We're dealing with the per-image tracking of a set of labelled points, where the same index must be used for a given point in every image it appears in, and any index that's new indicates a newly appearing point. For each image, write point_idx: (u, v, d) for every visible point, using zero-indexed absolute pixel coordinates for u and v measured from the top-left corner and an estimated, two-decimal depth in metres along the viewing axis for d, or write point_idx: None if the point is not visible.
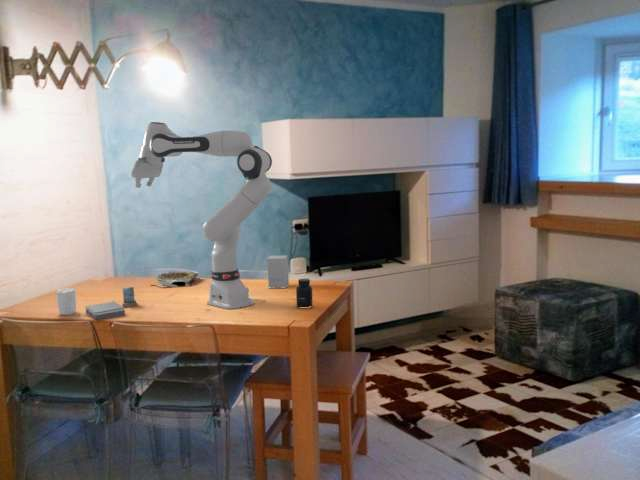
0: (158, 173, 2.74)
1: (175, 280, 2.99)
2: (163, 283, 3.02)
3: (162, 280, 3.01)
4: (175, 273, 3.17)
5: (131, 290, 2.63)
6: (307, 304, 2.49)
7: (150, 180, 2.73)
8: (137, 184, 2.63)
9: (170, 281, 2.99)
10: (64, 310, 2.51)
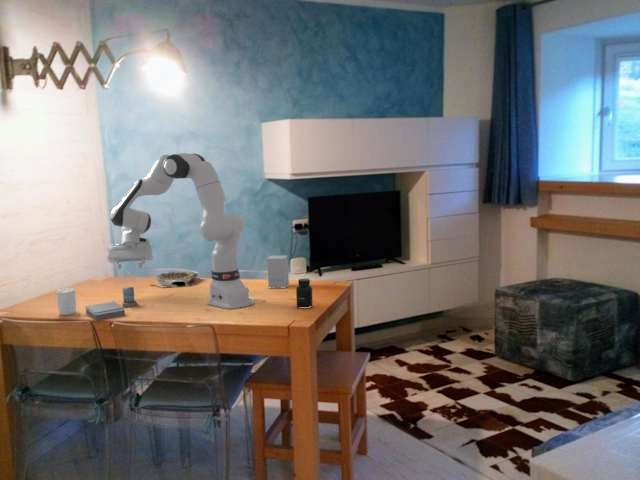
0: (146, 253, 2.79)
1: (175, 280, 2.99)
2: (163, 283, 3.02)
3: (162, 280, 3.01)
4: (175, 273, 3.17)
5: (131, 290, 2.63)
6: (307, 304, 2.49)
7: None
8: None
9: (170, 281, 2.99)
10: (64, 310, 2.51)
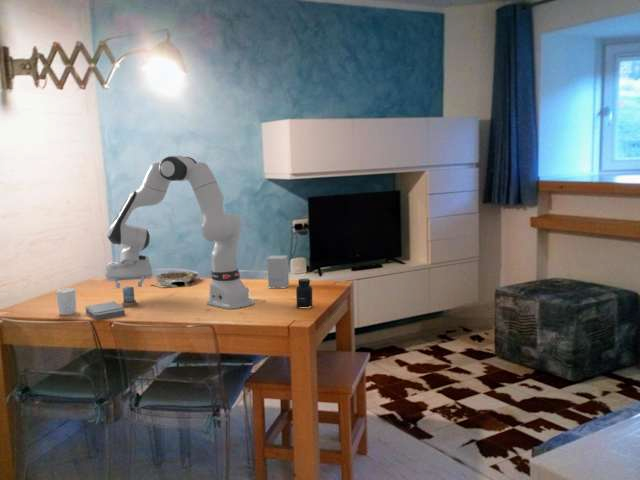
0: (146, 271, 2.71)
1: (175, 280, 2.99)
2: (163, 283, 3.02)
3: (162, 280, 3.01)
4: (174, 273, 3.17)
5: (131, 290, 2.63)
6: (307, 304, 2.49)
7: None
8: (116, 285, 2.67)
9: (170, 281, 2.99)
10: (64, 310, 2.51)
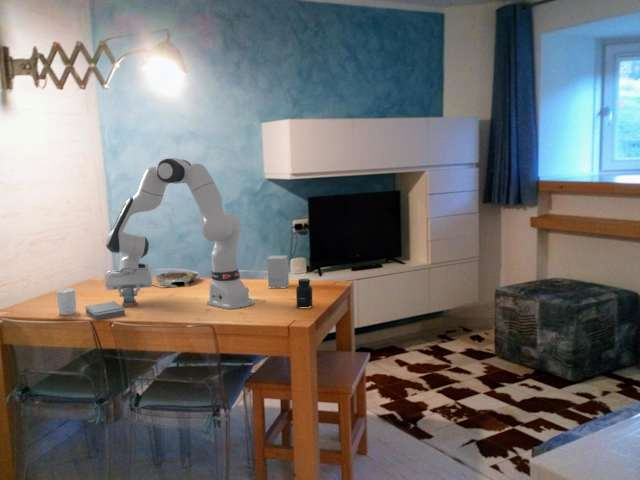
0: (145, 280, 2.68)
1: (174, 280, 2.99)
2: (162, 283, 3.01)
3: (161, 280, 3.01)
4: (174, 273, 3.17)
5: (131, 290, 2.63)
6: (307, 304, 2.49)
7: None
8: None
9: (169, 281, 2.99)
10: (64, 310, 2.51)
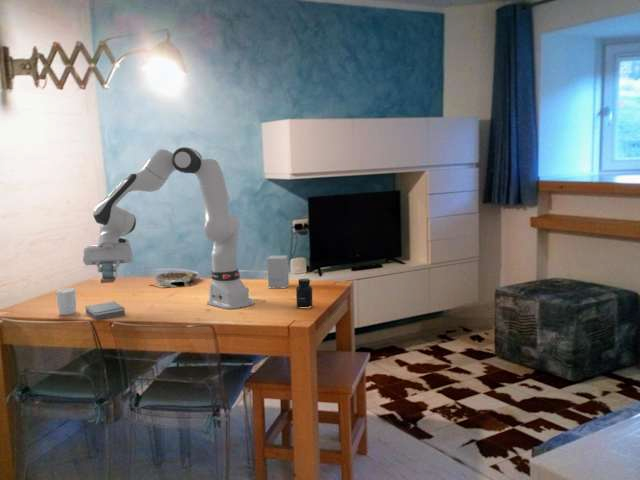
0: (126, 255, 2.56)
1: (174, 280, 2.99)
2: (162, 283, 3.01)
3: (161, 280, 3.01)
4: (174, 273, 3.17)
5: (110, 265, 2.51)
6: (307, 304, 2.49)
7: None
8: (98, 269, 2.52)
9: (169, 281, 2.99)
10: (64, 310, 2.51)
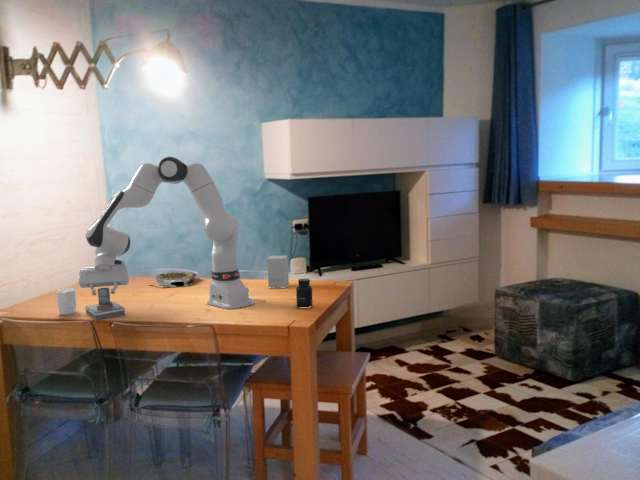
0: (122, 277, 2.53)
1: (174, 280, 2.99)
2: (162, 283, 3.01)
3: (161, 280, 3.01)
4: (173, 273, 3.17)
5: (106, 291, 2.49)
6: (307, 304, 2.49)
7: None
8: (92, 291, 2.49)
9: (169, 281, 2.99)
10: (64, 310, 2.51)
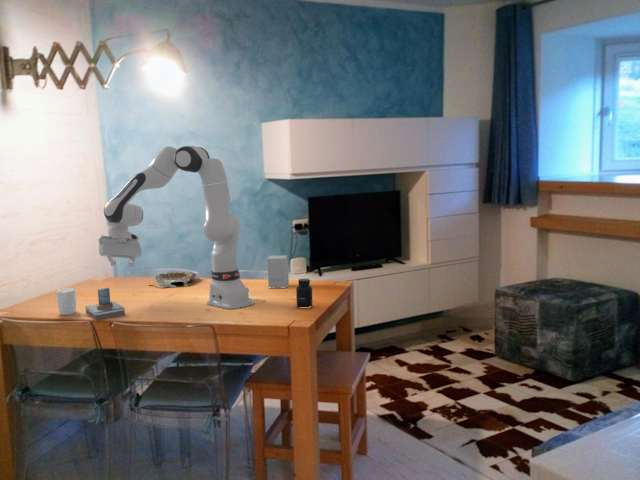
0: (137, 252, 2.73)
1: (174, 280, 2.99)
2: (162, 283, 3.01)
3: (161, 280, 3.00)
4: (173, 273, 3.16)
5: (106, 291, 2.49)
6: (307, 304, 2.49)
7: (131, 261, 2.71)
8: (111, 262, 2.63)
9: (169, 281, 2.98)
10: (64, 310, 2.51)
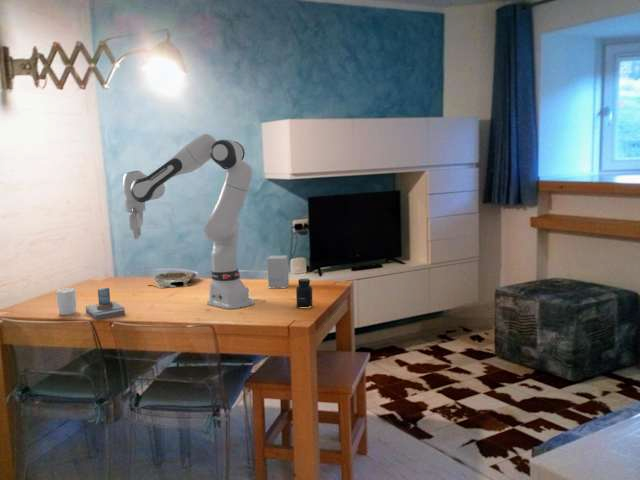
0: (142, 221, 2.77)
1: (173, 280, 2.99)
2: (161, 283, 3.01)
3: (160, 280, 3.00)
4: (173, 273, 3.16)
5: (106, 291, 2.49)
6: (307, 304, 2.49)
7: (138, 230, 2.75)
8: (135, 235, 2.65)
9: (168, 281, 2.98)
10: (64, 310, 2.51)
